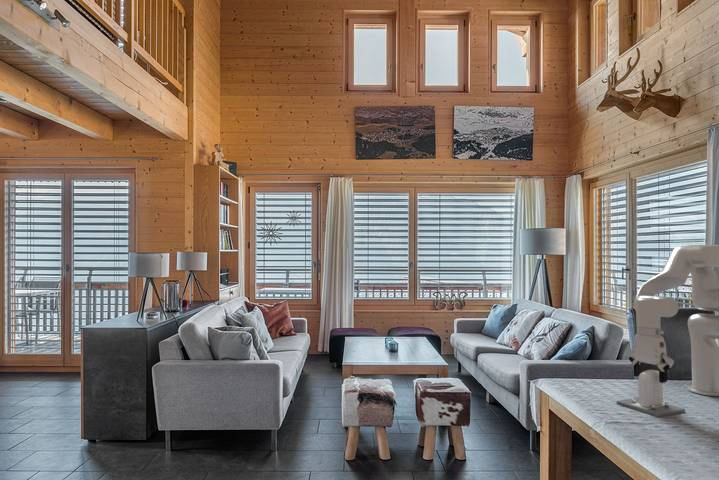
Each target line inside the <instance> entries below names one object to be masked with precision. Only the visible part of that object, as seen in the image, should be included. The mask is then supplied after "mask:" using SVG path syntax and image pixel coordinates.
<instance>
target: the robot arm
mask: <svg viewBox="0 0 719 480" xmlns="http://www.w3.org/2000/svg"><path fill="white" fill-rule="evenodd" d="M718 267H719V244H691V245H690V244H688V245H681V246H677V247H674V248H673V249H672V251H671V252H670V254H669V257H668V259H667V260H666V263H665V265H664V266H663V269H662V271H661V272H660V273H659V274H657V275H655V276H653V277H651V278H650V279H649V280H646V282H644V283H643V284H642V285H641V286H640V287H639V289H638V291H637V293H636V296H635V299H634V300H633V308H634V310H635V312H636V313H635V315H636V319H635V320H636V321H635V322H636V323H635V324H636V334H635V335H634V340H633V349H631V350H628V351H626V356H627V357H628V360H629V361H630V363H631V365H632V369H633V372H632V373H633V376H634V377H639V375H640V374H641V373H642V364H641V363H644V364H648V365H649V364H650V365H653V366H656V367H657V368H658V369H659V370H660V371H659V370H658V371H659V382H660V383H663V384H665V383H667V382H668V372H669V370H672V368H673V365H674V363H675V360H674V359H673V358H671V357H670V356H668V355H667V347H666V346H667V345H666V341H665V339H664V337H663V336H662V335H664V333H665V332H664V330H662V327H661V317H662V318H672V317H674V316H676V315H677V314H678V312H679V309H680V308H679V303H678V301H677V300H676V299H675V298H673V297H670V296H661V295H657V294H659V293H662V292H666V291H669V290H672V289H676V288H679V287H682V286H683V285H685V283H687V280H688V279H689V276H691V302H692V305H693V307H694V308H695V309H697V310H701V311H708V312H717V313H718V312H719V286H718V275H717V273H716V272H715V270H714V268H718ZM687 328H688V332H689V337H690V348H691V353H690V354H691V355H690V356H691V359H690V360H691V385H688V386H687V390H688V391H689V392H691V393H694V394H698V395H703V396H711V397H719V345H718V344H717V343H718V342H716V341H715V339H716V340H719V314H710V313H694V314H692V315H690V316H689V317H688V319H687Z"/></svg>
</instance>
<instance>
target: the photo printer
mask: <svg viewBox="0 0 719 480" xmlns="http://www.w3.org/2000/svg"><path fill="white" fill-rule="evenodd" d="M637 379H638V381H637V383H638V398H639V404H640V405H641V406H644V407H651V405H652V404H653V405H660V404H663V403H664V383H660V382H659V370H654V369H647V370H644V371H643V372H642V371H641V374H640V375H639V376H637Z"/></svg>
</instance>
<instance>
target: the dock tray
mask: <svg viewBox="0 0 719 480" xmlns="http://www.w3.org/2000/svg"><path fill="white" fill-rule="evenodd" d="M616 405H618V406H619V405H620V406H622V405H623V406H622V407H625V408H628V409H631V410H635V411H638V412H642V413H645V414H648V415H650V416H655V417H657V418H660V417H661V418H662V417H666V416H671V415H677V414H682V413H683V414H684V413H685V412H686V409H685V408H683V407H678V406H675V405H673V404H672V405H671V404H670V403H669V402H667V401H665V402H663V404H660V405H653V404H652V405H651V407H644V406H641V405H640V404H639V397H635V398H634V397H633V398H627V399H622V400H621V399H620V400H616Z"/></svg>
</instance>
